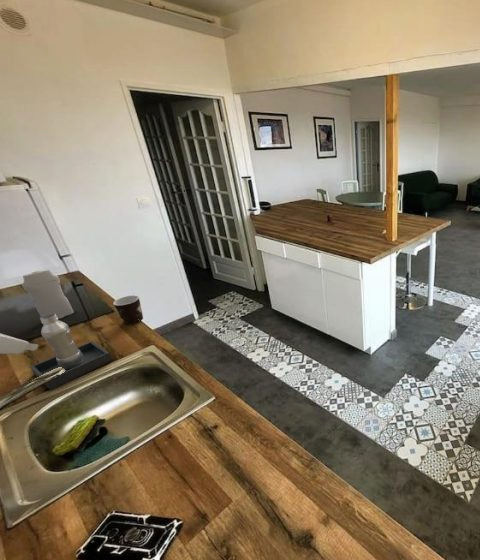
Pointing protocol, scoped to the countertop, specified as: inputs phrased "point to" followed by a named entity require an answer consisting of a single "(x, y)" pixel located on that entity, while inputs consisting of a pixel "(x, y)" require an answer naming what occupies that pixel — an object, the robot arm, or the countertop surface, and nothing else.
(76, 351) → the plastic bottle
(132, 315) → the coffee mug
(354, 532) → the countertop surface
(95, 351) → the dark blue tray
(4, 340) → the robot arm
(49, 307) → the grey tall flat block
